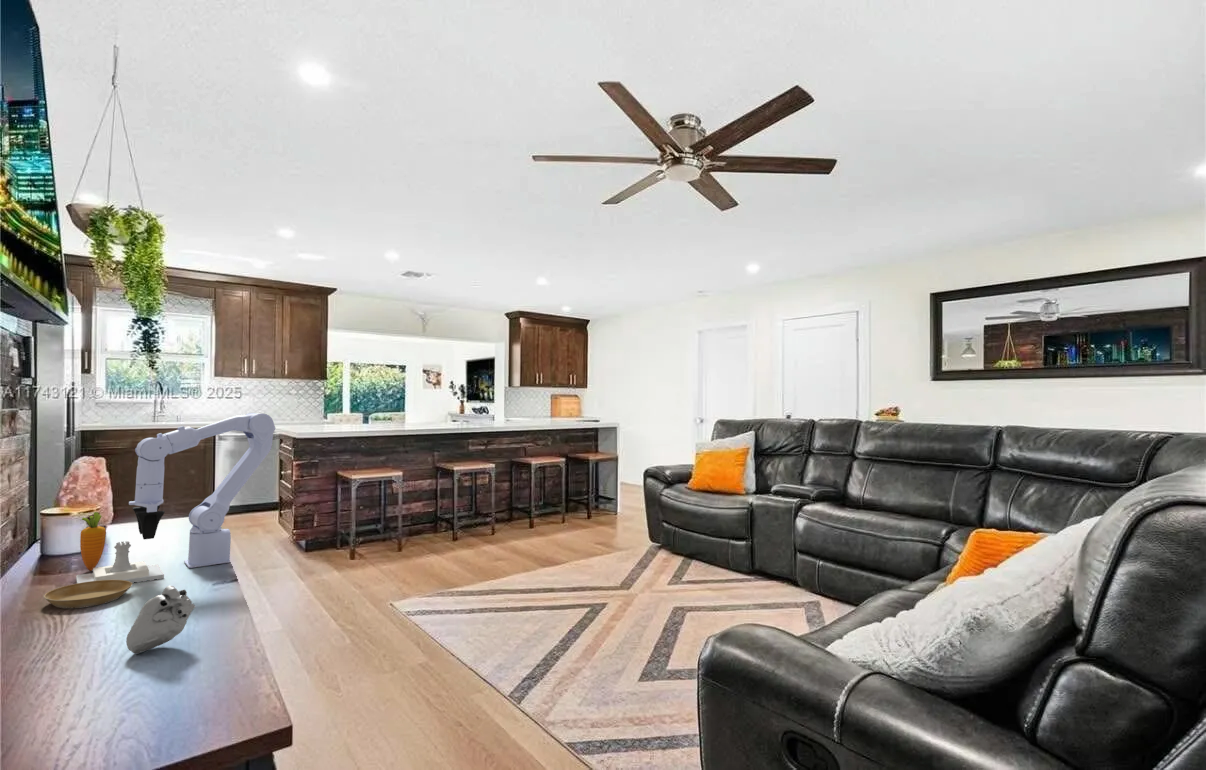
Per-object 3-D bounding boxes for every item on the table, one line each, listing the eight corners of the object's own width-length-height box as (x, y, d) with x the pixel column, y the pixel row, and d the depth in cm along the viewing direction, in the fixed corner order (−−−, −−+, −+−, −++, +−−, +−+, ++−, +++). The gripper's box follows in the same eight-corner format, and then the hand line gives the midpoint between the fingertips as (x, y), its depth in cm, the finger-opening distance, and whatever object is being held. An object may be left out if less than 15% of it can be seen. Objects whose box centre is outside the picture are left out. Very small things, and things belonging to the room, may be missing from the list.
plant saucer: (128, 586, 138) (129, 575, 138) (135, 602, 127) (135, 590, 127) (43, 599, 127) (43, 587, 128) (42, 618, 117) (43, 605, 117)
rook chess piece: (137, 573, 144) (139, 541, 144) (118, 578, 140) (120, 545, 140) (123, 571, 145) (125, 539, 145) (104, 576, 141) (106, 543, 141)
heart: (184, 630, 111) (174, 571, 110) (206, 641, 106) (196, 580, 105) (120, 657, 103) (108, 594, 101) (140, 671, 97) (128, 605, 96)
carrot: (91, 573, 146) (95, 514, 146) (72, 573, 146) (76, 514, 146) (108, 568, 151) (112, 511, 151) (90, 567, 151) (94, 510, 151)
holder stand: (157, 567, 152) (158, 558, 152) (163, 578, 144) (164, 568, 144) (76, 579, 141) (76, 569, 141) (77, 591, 132) (78, 580, 133)
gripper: (127, 481, 151) (124, 533, 151) (133, 488, 141) (129, 543, 140) (160, 479, 156) (157, 529, 156) (168, 486, 146) (165, 539, 145)
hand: (146, 536), depth 148 cm, fingers open, 7 cm apart
